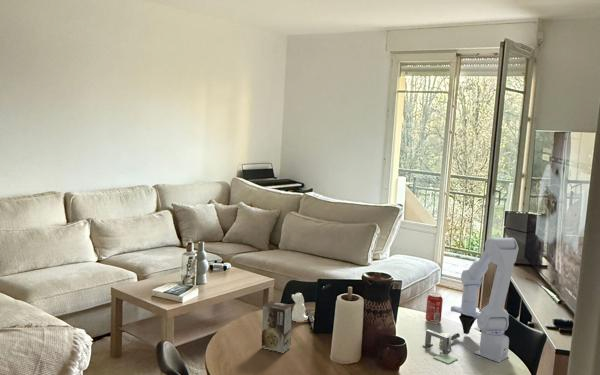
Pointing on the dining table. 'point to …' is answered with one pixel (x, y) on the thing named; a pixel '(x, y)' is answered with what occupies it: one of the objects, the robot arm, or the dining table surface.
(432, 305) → the beverage can
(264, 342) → the coffee box
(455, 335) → the plug
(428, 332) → the bracket
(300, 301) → the seated beast figurine
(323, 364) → the dining table surface
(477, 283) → the robot arm
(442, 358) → the pad
